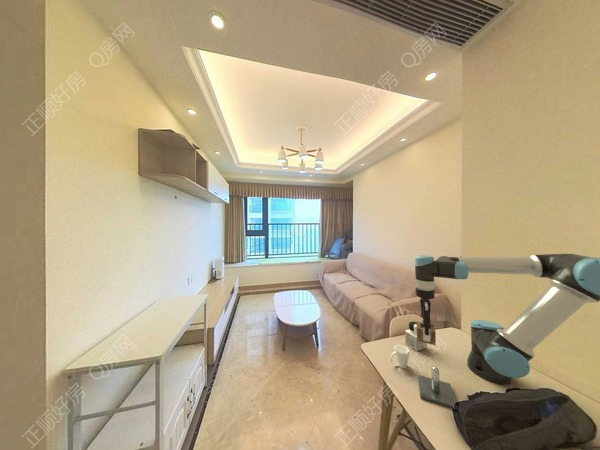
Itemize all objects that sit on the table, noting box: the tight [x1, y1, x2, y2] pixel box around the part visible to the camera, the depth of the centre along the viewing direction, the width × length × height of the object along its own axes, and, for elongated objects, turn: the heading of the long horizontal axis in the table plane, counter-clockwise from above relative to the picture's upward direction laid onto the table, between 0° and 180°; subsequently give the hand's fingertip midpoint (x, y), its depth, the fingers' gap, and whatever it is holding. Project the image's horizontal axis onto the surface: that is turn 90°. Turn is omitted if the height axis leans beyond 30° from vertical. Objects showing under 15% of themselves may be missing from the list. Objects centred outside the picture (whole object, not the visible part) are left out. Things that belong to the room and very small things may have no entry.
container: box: [404, 320, 428, 352], centre depth 111 cm, size 8×8×13 cm
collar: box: [416, 321, 437, 346], centre depth 91 cm, size 7×7×6 cm
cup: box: [389, 344, 410, 369], centre depth 96 cm, size 7×10×8 cm
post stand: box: [417, 366, 457, 410], centre depth 80 cm, size 12×12×10 cm
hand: (425, 336), depth 91 cm, fingers closed on collar, 7 cm apart
